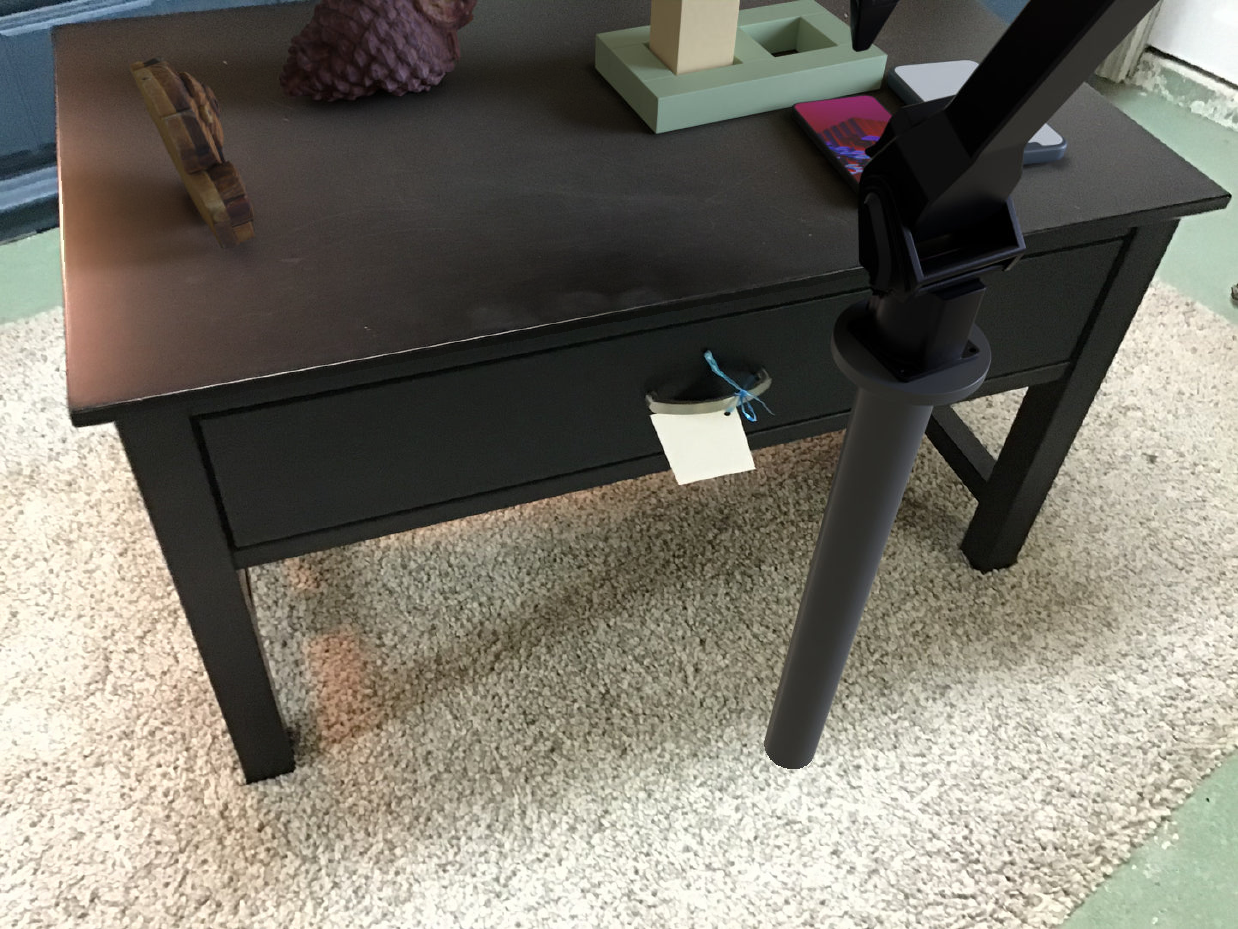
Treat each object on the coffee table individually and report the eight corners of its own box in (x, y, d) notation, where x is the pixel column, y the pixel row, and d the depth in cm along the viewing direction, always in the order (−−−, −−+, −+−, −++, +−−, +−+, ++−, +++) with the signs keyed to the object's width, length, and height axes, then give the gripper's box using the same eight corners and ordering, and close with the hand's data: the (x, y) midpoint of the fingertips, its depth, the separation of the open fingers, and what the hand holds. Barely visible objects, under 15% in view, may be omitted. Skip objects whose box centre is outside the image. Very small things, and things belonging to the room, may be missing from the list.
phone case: (879, 83, 90) (967, 175, 80) (883, 65, 89) (972, 156, 78) (971, 74, 92) (1069, 163, 81) (976, 56, 91) (1076, 144, 80)
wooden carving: (292, 255, 70) (259, 117, 63) (226, 278, 68) (184, 138, 61) (203, 149, 79) (166, 18, 72) (143, 166, 77) (98, 33, 70)
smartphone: (873, 92, 87) (963, 184, 77) (871, 103, 87) (960, 195, 77) (787, 103, 85) (868, 198, 75) (785, 113, 86) (865, 209, 76)
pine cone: (309, 144, 80) (241, 14, 76) (312, 145, 89) (252, 29, 85) (515, 49, 82) (458, -83, 78) (497, 59, 91) (446, -58, 87)
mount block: (880, 88, 89) (887, 54, 87) (655, 134, 83) (658, 98, 81) (806, 30, 97) (811, -2, 95) (595, 68, 90) (595, 33, 88)
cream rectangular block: (729, 94, 88) (747, -69, 78) (674, 105, 86) (686, -61, 77) (701, 68, 91) (715, -93, 81) (647, 78, 89) (655, -85, 80)
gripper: (1106, -232, 53) (1010, 60, 65) (887, -315, 64) (838, -52, 76) (934, -212, 50) (865, 94, 61) (734, -303, 61) (707, -29, 72)
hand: (819, 19), depth 68 cm, fingers open, 9 cm apart
